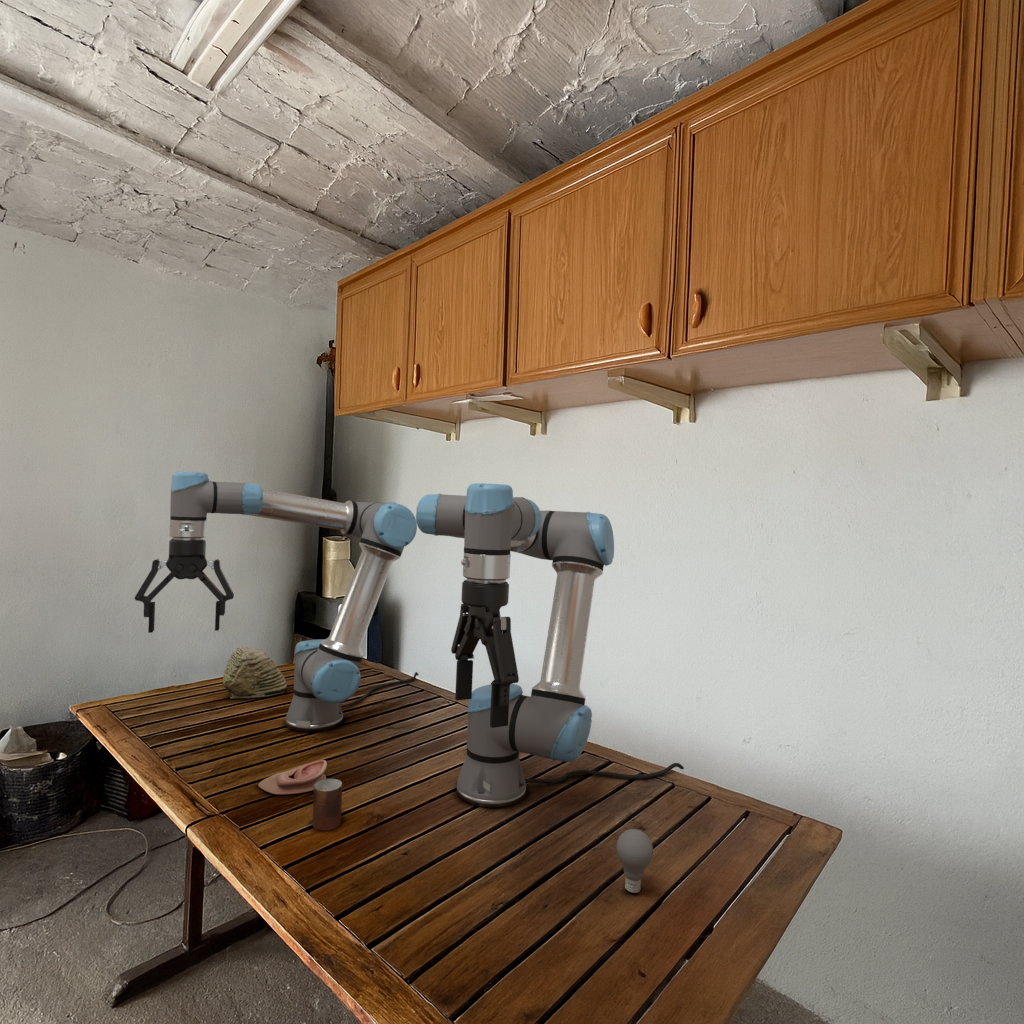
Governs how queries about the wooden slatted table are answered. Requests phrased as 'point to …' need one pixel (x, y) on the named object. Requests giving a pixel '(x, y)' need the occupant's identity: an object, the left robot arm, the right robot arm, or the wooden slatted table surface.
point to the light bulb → (634, 857)
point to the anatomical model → (295, 779)
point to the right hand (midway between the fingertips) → (480, 712)
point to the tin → (327, 804)
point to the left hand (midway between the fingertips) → (184, 630)
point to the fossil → (252, 674)
